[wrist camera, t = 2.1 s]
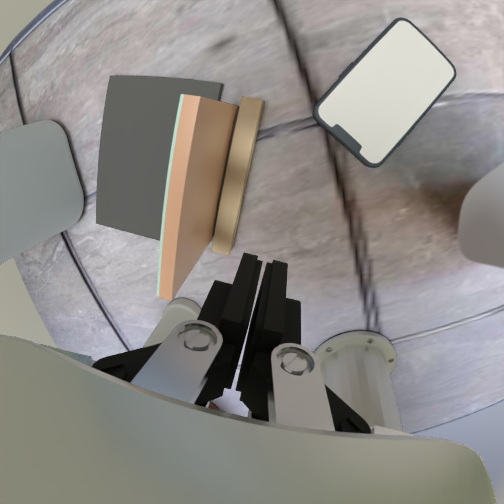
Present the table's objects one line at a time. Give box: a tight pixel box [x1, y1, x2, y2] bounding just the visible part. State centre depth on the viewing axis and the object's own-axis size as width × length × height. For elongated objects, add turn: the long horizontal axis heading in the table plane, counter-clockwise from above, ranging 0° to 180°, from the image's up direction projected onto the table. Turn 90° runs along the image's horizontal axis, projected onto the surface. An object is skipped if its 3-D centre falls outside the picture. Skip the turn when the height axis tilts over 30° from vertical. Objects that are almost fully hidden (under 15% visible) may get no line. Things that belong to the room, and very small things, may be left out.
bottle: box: [143, 298, 201, 348], centre depth 27 cm, size 5×5×25 cm
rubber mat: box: [96, 76, 223, 241], centre depth 30 cm, size 18×13×1 cm
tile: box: [157, 94, 238, 301], centre depth 23 cm, size 1×14×12 cm, turn 168°
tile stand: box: [212, 96, 265, 255], centre depth 29 cm, size 16×3×2 cm, turn 168°
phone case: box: [313, 18, 456, 168], centre depth 24 cm, size 9×2×16 cm
